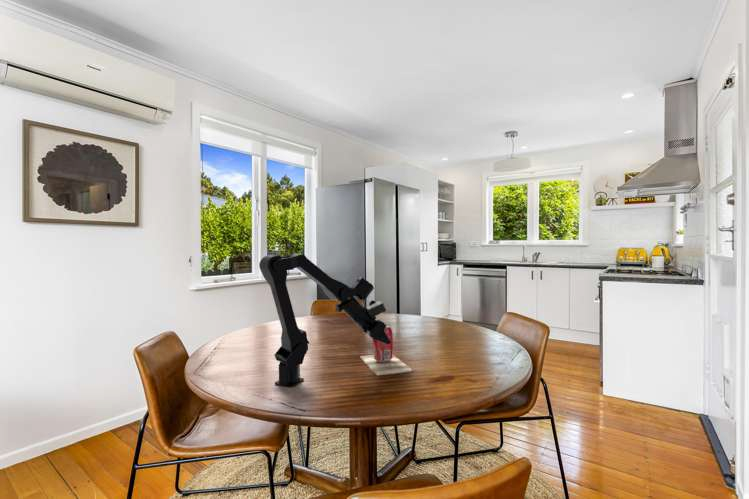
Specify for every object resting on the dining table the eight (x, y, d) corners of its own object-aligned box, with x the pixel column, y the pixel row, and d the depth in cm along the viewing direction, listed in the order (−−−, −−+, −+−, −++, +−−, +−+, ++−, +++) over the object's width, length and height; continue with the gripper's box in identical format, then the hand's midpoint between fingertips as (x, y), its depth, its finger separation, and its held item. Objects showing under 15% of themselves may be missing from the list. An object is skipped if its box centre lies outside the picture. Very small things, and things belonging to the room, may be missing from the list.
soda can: (381, 355, 137) (381, 322, 137) (396, 359, 132) (396, 325, 132) (368, 360, 132) (368, 326, 131) (384, 364, 127) (384, 328, 127)
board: (411, 371, 123) (411, 369, 123) (377, 375, 119) (377, 373, 119) (390, 354, 142) (390, 353, 142) (360, 357, 138) (360, 356, 138)
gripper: (380, 297, 122) (411, 329, 125) (364, 291, 140) (392, 318, 143) (356, 323, 119) (389, 354, 123) (343, 313, 137) (372, 341, 141)
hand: (386, 340), depth 132 cm, fingers closed on soda can, 7 cm apart
